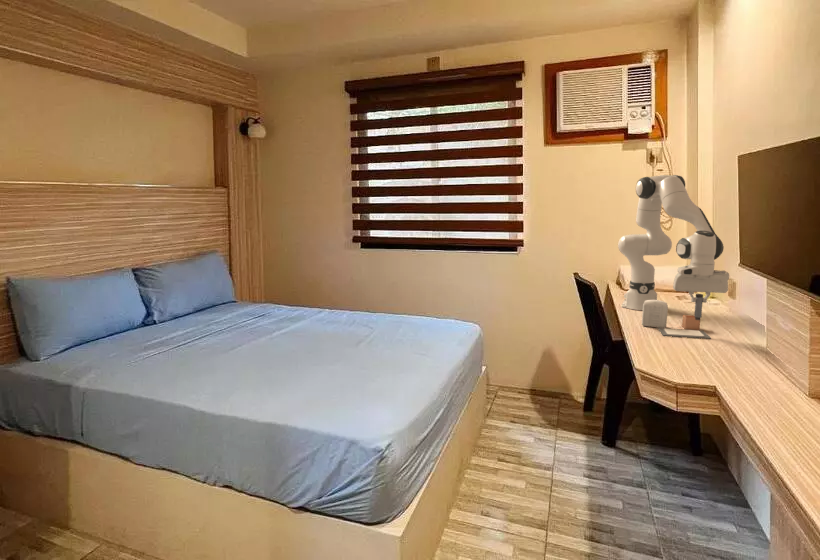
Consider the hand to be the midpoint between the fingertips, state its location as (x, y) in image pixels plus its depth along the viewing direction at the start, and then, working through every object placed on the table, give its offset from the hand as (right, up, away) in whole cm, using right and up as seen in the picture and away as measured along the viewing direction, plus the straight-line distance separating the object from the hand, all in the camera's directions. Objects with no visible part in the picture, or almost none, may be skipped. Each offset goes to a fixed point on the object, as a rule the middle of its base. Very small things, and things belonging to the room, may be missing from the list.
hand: (698, 302), depth 216 cm
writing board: (-5, -14, +3) cm, 15 cm away
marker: (0, -8, +1) cm, 8 cm away
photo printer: (-11, -12, +16) cm, 23 cm away
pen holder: (+3, -12, +12) cm, 17 cm away
